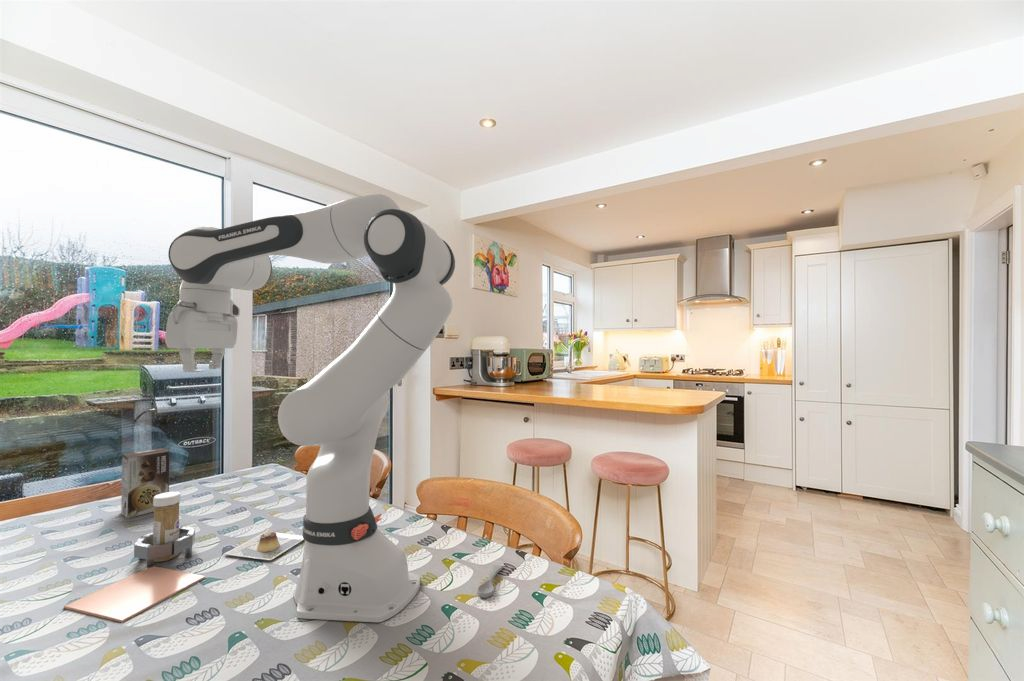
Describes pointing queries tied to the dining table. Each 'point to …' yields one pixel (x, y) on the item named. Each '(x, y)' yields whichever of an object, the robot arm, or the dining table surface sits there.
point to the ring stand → (164, 546)
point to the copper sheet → (134, 593)
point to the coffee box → (143, 480)
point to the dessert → (265, 543)
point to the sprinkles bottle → (166, 520)
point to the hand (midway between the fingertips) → (202, 370)
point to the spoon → (489, 583)
